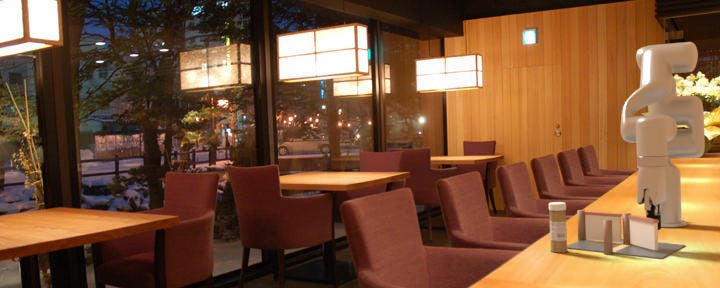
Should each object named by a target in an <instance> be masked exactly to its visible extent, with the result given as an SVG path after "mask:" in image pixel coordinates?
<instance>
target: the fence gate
mask: <svg viewBox="0 0 720 288" xmlns="http://www.w3.org/2000/svg"><path fill="white" fill-rule="evenodd" d="M628 218H630V244H633V245H637V246H640V247H644V248H648V249H652V250H658V242H659V230H658V223H659V220H657V219H652V218H647V217H646V216H641V215H636V214H631V215H628Z"/></svg>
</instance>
